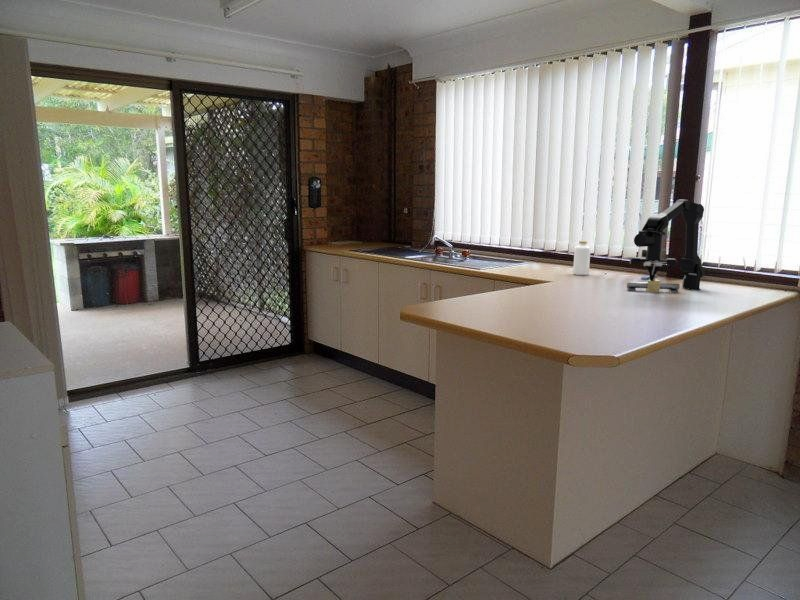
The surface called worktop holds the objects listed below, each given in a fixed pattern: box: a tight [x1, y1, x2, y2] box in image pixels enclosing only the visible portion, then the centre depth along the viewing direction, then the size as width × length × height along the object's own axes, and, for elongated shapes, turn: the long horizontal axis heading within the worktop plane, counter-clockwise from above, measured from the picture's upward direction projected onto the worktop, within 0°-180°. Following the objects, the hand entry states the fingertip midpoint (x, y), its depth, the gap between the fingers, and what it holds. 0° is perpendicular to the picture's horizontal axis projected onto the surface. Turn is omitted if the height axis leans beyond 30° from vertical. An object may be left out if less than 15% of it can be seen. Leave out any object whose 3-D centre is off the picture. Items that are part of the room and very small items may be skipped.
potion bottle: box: [572, 240, 592, 276], centre depth 307 cm, size 8×8×18 cm
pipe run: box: [626, 278, 680, 294], centre depth 259 cm, size 22×5×6 cm, turn 76°
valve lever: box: [640, 274, 658, 281], centre depth 255 cm, size 12×3×1 cm, turn 135°
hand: (651, 280), depth 251 cm, fingers closed
